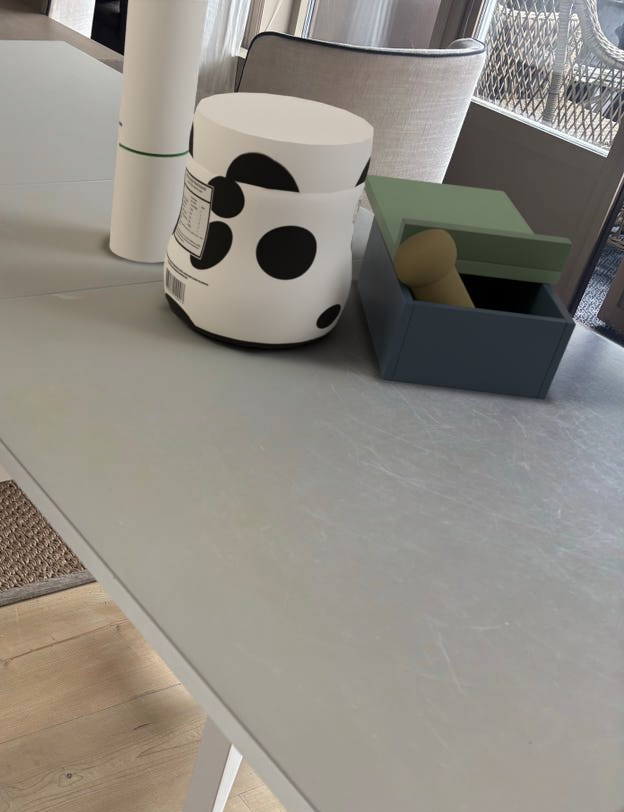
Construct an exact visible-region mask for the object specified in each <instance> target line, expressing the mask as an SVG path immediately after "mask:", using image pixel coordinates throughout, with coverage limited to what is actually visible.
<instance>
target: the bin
mask: <svg viewBox="0 0 624 812" xmlns="http://www.w3.org/2000/svg"><path fill="white" fill-rule="evenodd" d="M458 274H459V276H460V278H461V280H462V282H463V284H464V286H465V288H466V290H467V292H468V295H469V297H470V299H471V301H472V303H473V305H474V307H475V308H471V307H463V306H455V305H447V304H439V303H431V302H423V301H413V299H412V296H411V294H410V291H409V288H408V285H406V284H404V283H403V282H401V281H400V279H399V278H398V277H397V274H396V271H395V269H394V264H393V262H392V259H391V257H390V254H389V252H388V249H387V246H386V244H385V241H384V239H383V236H382V233H381V231H380V228H379V226H378V223H377V221H376V218H375V215H374V214H373V218H372V222H371V226H370V230H369V234H368V239H367V243H366V246H365V249H364V255H363V258H362V262H361V266H360V271H359V273H358V278H357V282H356V285H357V289H358V293H359V297H360V299H361V300H360V301H361V304H362V308H363V311H364V315H365V319H366V322H367V326H368V329H369V330H368V331H369V334H370V337H371V340H372V344H373V349H374V351H375V356H376V359H377V363H378V366H379V370H380V373H381V377H382V380H383V381H390V382H398V383H406V384H416V385H423V386H430V387H440V388H449V389H456V390H463V391H473V392H480V393H487V394H488V393H489V394H497V395H505V396H513V397H522V398H529V399H530V398H531V399H539V400H545V399H546V397H547V395H548V393H549V391H550V388H551V385H552V383H553V381H554V379H555V377H556V374H557V371H558V369H559V367H560V364H561V361H562V359H563V357H564V355H565V352H566V350H567V347H568V345H569V343H570V340H571V338H572V335H573V333H574V330H575V328H576V326H577V324H576V321H575V320H574V318H573V317H572V315H571V314H570V312H569V311H568V309H567V308H566V306H565V305H564V303H563V302H562V300H561V298H560V297H559V295H558V294H557V292H556V290H555V289H554V288H553V286H552V284H545V283H536V282H528V281H520V280H511V279H503V278H495V277H487V276H478V275H470V274H462V273H458Z"/></svg>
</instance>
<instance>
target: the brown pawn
mask: <svg viewBox="0 0 624 812" xmlns="http://www.w3.org/2000/svg"><path fill="white" fill-rule="evenodd" d="M456 258H457V249H456V246H455V242H454V240H453V239H452V237H451V236H450V234H448V233H447V232H446V231H444V230H441V229H430V230H426V231H423V232H420V233H417V234H415V235H413V236H411V237H410V238H408V239H407V240H405V241H404V242H403V243H402V244H401V245H400V246H399V247H398V249H397V250H396V252H395V255H394V260H393V263H394V269H395V271H396V274H397V277H398V278H399V279H400V281H401V282H403V283H404V284H406V285H408V288H409V291H410V294H411V296H412V299H413V301H423V302H431V303H439V304H447V305H455V306H463V307H471V308H475V307H474V305H473V303H472V301H471V299H470V297H469V295H468V292H467V290H466V288H465V286H464V284H463V282H462V280H461V278H460V276H459V274H458V272H457V270H456V268H455V266H454V264H455V261H456Z"/></svg>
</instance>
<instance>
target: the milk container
mask: <svg viewBox="0 0 624 812" xmlns="http://www.w3.org/2000/svg"><path fill="white" fill-rule="evenodd" d="M374 131H375V129H374V127H373V126H372V125H371V124H370V123H369V122H368V121H367V120H366V119H365V118H363V117H361V116H359V115H356V114H355V113H352V112H351V111H348V110H346V109H344V108H340V107H337V106H334V105H331V104H326V103H324V102H320V101H316V100H311V99H306V98H301V97H296V96H292V95H291V96H290V95H282V94H274V93H266V92H265V93H264V92H228V93H218V94H214V95H210V96H207V97H205V98H201V100H200V101H199V103H198V104H197V106H196V107H195V110H194V116H193V122H192V127H191V131H190V138H189V153H188V156H187V159H186V168H185V179H184V190H183V199H182V205H181V209H180V214H179V217H178V220H177V223H176V225H175V228H174V230H173V233H172V235H171V238H170V241H169V243H168V246H167V250H166V254H165V261H164V262H163V287H164V296H165V299H166V301H167V303H168V306H169V309H170V310H171V312H172V313H173V314H175V316H176V317H177V318H178V319H180V320H181V321H182V322H183V323H185V325H187V326H188V327H189V328H190V329H193V330H194V331H197V332H199V333H201V334H204V335H205V336H207V337H209V338H212V339H214V340H217V341H221V342H227V343H229V344H233V345H237V346H240V347H250V348H258V349H259V348H260V349H267V350H269V349H286V348H287V349H289V348H297V347H299V346H302V345H306V344H310V343H313V342H315V341H318V340H320V339H322V338H323V337H325V336H326V335H328V333H330V332H331V331H332V329H333V328H334V327H335V326H336V325H337V323H338V322H339V319H340V318H341V316H342V314H343V311H344V309H345V307H346V304H347V301H348V298H349V295H350V291H351V286H352V282H353V281H352V280H353V236H354V230H355V226H356V223H357V217H358V214H359V210H360V207H361V203H362V200H363V196H364V193H365V190H364V189H365V179H366V176H367V174H368V173H369V170H370V165H371V158H372V152H373V146H374V145H373V143H374Z"/></svg>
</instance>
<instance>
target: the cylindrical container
mask: <svg viewBox="0 0 624 812" xmlns="http://www.w3.org/2000/svg"><path fill="white" fill-rule="evenodd" d="M208 1H209V0H128V1H127V12H126V13H127V14H126V25H125V28H126V29H125V38H124V39H125V41H124V53H123V65H122V76H121V77H122V79H121V89H120V90H121V91H120V102H119V117H118V120H119V121H118V130H117V144H116V157H115V169H114V180H113V181H114V182H113V195H112V206H111V208H112V209H111V222H110V223H111V224H110V233H109V249H110V251H111V252H112V253H114V254H115V255H117V256H118V257H121V258H123V259H126V260H129V261H133V262H138V263H147V264H148V263H152V264H153V263H154V264H156V263H164V261H165V254H166V250H167V246H168V243H169V241H170V238H171V235H172V233H173V230H174V228H175V225H176V223H177V220H178V217H179V214H180V209H181V205H182V199H183V190H184V179H185V168H186V159H187V156H188V153H189V138H190V131H191V127H192V122H193V118H194V114H195V108H196V98H197V91H198V90H197V89H198V83H199V74H200V66H201V58H202V50H203V49H202V48H203V42H204V33H205V25H206V19H207V18H206V17H207V11H208V10H207V8H208Z"/></svg>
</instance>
